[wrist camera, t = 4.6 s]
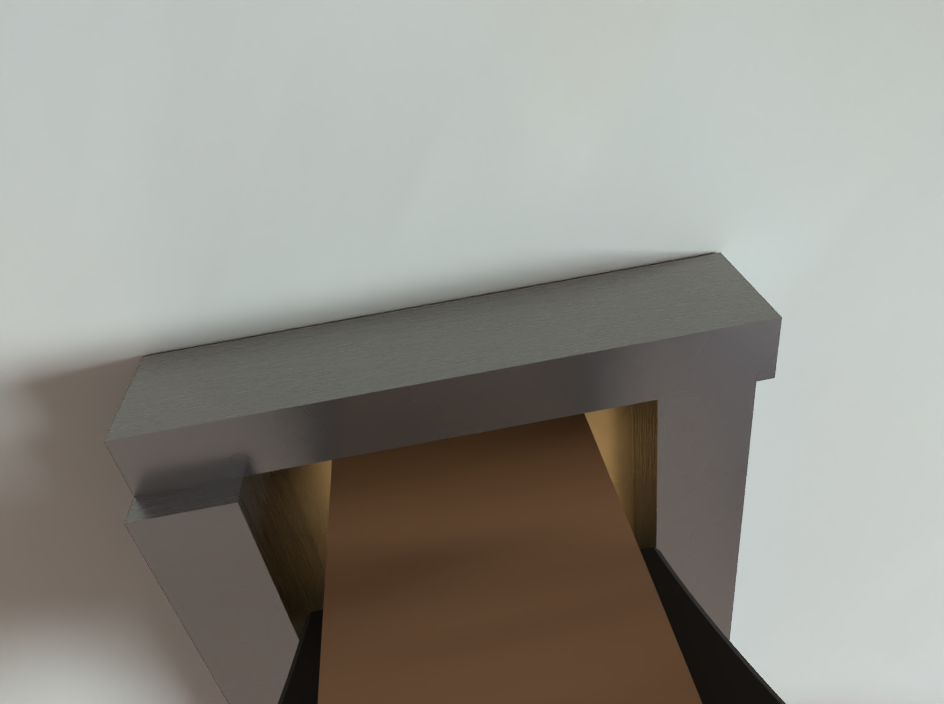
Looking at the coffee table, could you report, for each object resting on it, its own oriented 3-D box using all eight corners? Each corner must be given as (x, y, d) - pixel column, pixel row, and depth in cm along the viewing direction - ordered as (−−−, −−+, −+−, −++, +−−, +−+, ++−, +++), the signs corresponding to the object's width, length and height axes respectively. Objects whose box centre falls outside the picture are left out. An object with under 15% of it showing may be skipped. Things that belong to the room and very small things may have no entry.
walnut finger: (585, 565, 15) (698, 921, 10) (389, 602, 15) (401, 982, 10) (572, 383, 12) (717, 740, 7) (334, 427, 12) (310, 819, 7)
